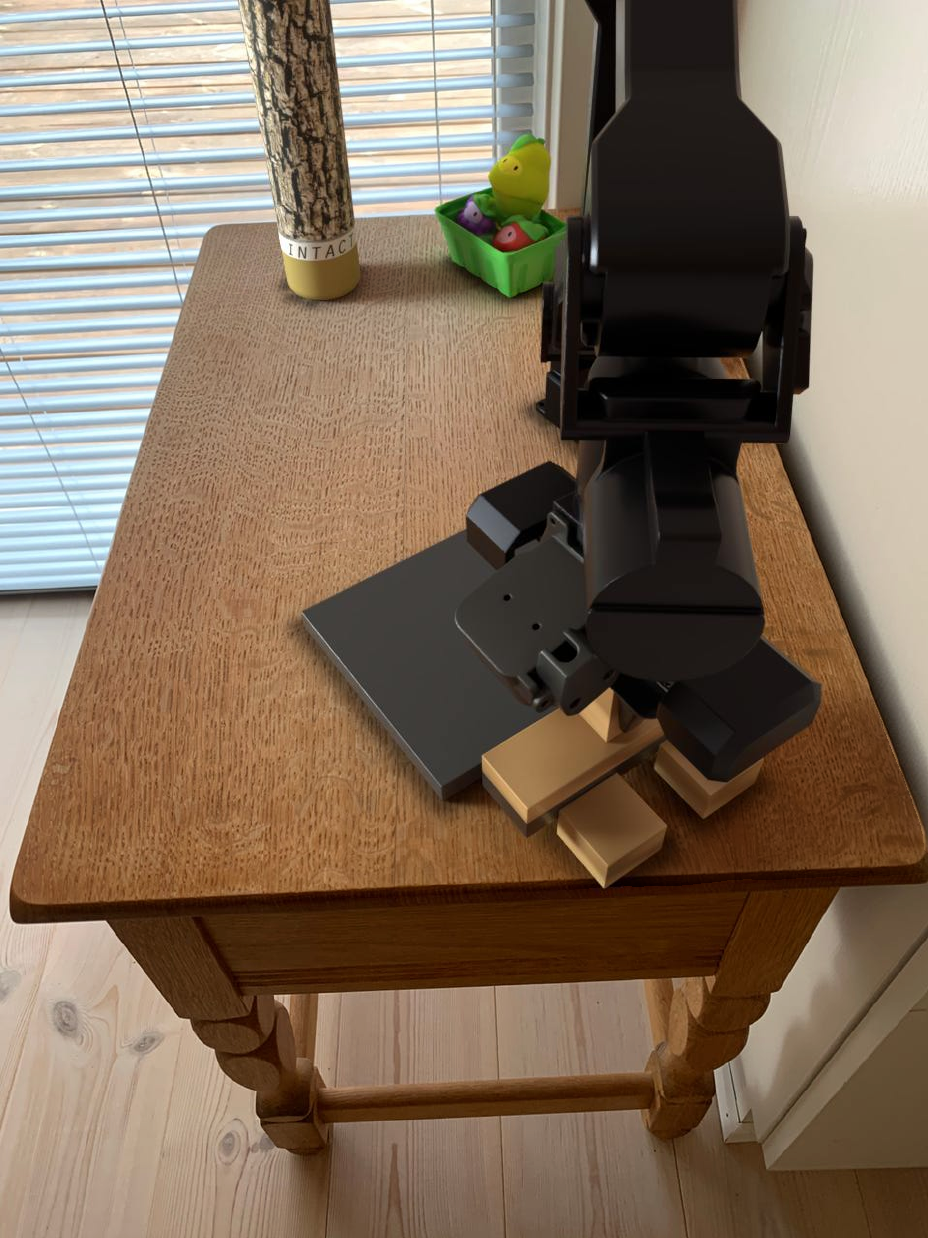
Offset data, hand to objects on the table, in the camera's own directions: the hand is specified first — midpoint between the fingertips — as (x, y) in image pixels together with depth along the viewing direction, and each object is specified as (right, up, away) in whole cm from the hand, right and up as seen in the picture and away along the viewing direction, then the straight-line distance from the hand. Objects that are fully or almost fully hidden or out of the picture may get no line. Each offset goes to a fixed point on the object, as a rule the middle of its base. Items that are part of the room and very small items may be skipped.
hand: (611, 709), depth 52 cm
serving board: (-6, +4, +10) cm, 12 cm away
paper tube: (-21, +36, +39) cm, 57 cm away
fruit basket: (-4, +38, +40) cm, 55 cm away
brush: (0, -2, +3) cm, 4 cm away
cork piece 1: (0, -7, 0) cm, 7 cm away
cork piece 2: (+6, -4, +3) cm, 8 cm away
